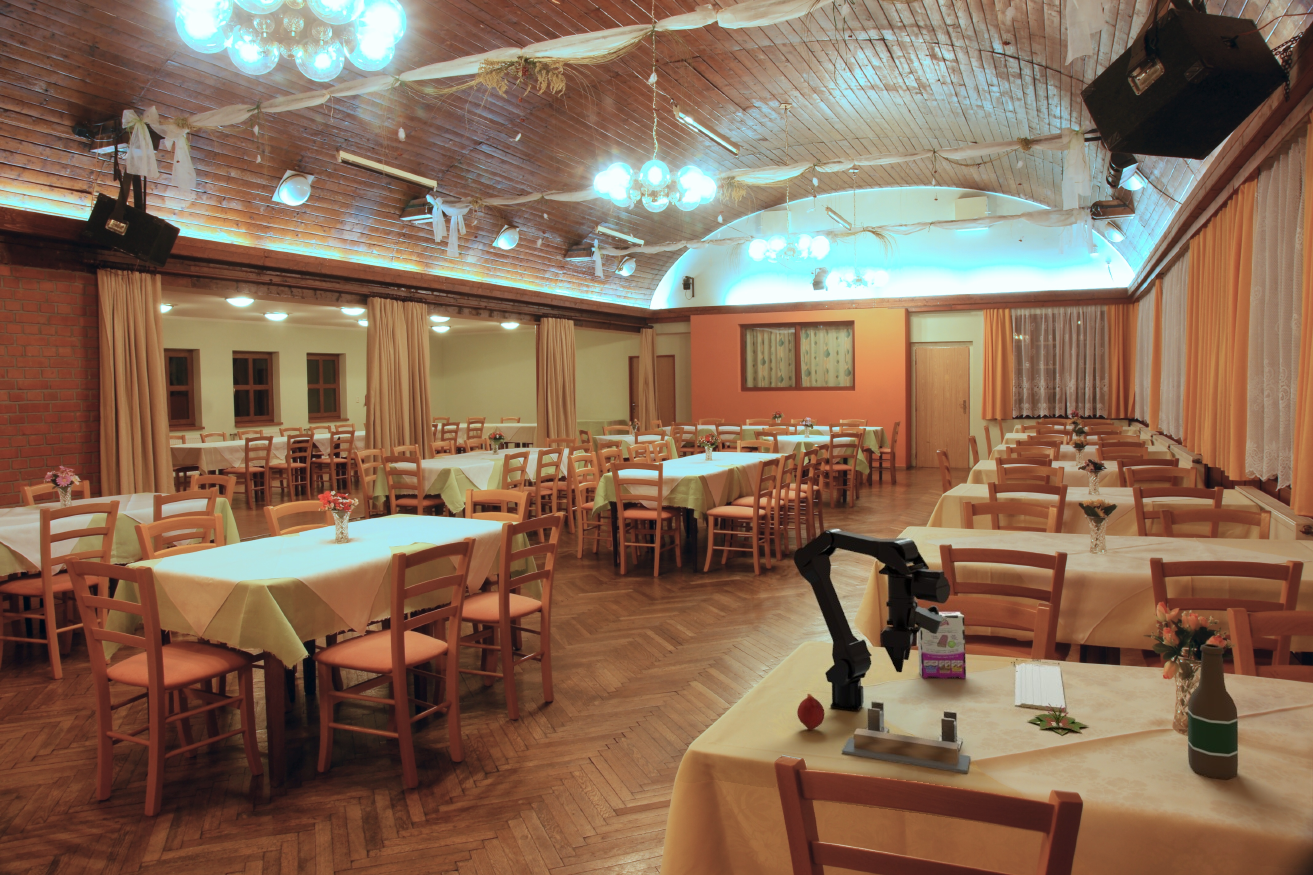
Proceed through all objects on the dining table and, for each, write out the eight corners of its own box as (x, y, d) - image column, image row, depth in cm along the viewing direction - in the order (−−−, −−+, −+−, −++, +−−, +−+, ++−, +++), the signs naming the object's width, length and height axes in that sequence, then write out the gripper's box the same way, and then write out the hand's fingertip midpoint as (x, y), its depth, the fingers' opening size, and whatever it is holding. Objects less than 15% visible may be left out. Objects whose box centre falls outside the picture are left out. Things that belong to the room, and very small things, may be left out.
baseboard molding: (1008, 707, 188) (1065, 714, 183) (1008, 695, 188) (1065, 702, 183) (1010, 667, 216) (1059, 672, 211) (1009, 656, 216) (1059, 661, 211)
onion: (826, 725, 179) (825, 690, 179) (822, 736, 173) (822, 699, 173) (800, 723, 181) (799, 688, 180) (795, 733, 175) (795, 696, 175)
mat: (842, 753, 165) (842, 750, 165) (849, 740, 171) (849, 737, 171) (967, 773, 154) (967, 770, 154) (970, 758, 160) (970, 755, 160)
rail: (854, 747, 166) (853, 733, 165) (857, 742, 168) (857, 728, 168) (957, 764, 157) (957, 749, 157) (958, 757, 159) (958, 743, 159)
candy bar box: (961, 672, 211) (960, 610, 211) (966, 679, 206) (965, 615, 206) (917, 672, 213) (916, 610, 212) (921, 678, 208) (920, 615, 207)
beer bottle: (1178, 763, 156) (1177, 640, 155) (1215, 760, 156) (1215, 638, 156) (1209, 781, 148) (1208, 652, 147) (1248, 778, 149) (1248, 650, 148)
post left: (863, 737, 172) (862, 708, 172) (868, 726, 178) (868, 699, 177) (884, 740, 170) (883, 711, 170) (889, 729, 176) (888, 701, 175)
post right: (936, 748, 166) (936, 718, 165) (940, 737, 171) (939, 708, 171) (959, 751, 164) (958, 721, 163) (962, 740, 169) (961, 711, 169)
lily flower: (1100, 730, 173) (1100, 709, 173) (1064, 742, 168) (1063, 720, 168) (1051, 711, 184) (1051, 692, 184) (1015, 722, 179) (1015, 702, 179)
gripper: (934, 608, 166) (935, 683, 167) (944, 589, 183) (945, 657, 183) (879, 604, 171) (880, 677, 172) (894, 586, 188) (895, 652, 188)
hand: (902, 665), depth 179 cm, fingers open, 9 cm apart
